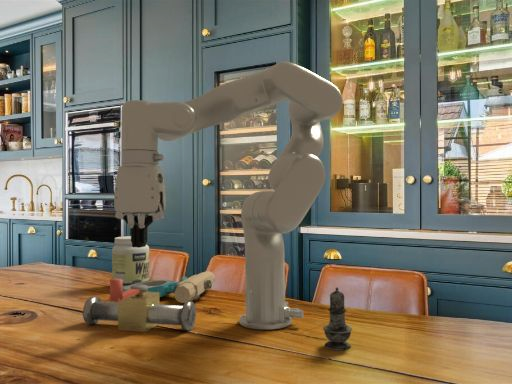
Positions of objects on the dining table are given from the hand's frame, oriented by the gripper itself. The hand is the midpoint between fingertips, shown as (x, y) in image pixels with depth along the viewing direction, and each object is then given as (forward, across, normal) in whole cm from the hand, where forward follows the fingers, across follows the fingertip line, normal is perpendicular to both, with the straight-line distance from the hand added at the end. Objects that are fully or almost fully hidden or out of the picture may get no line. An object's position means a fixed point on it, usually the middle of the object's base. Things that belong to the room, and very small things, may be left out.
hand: (139, 246), depth 97 cm
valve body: (+20, +5, -10) cm, 23 cm away
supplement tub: (+20, +30, -50) cm, 62 cm away
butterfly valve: (+20, +13, -40) cm, 46 cm away
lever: (+12, +6, -6) cm, 14 cm away
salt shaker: (+20, -41, -6) cm, 46 cm away
